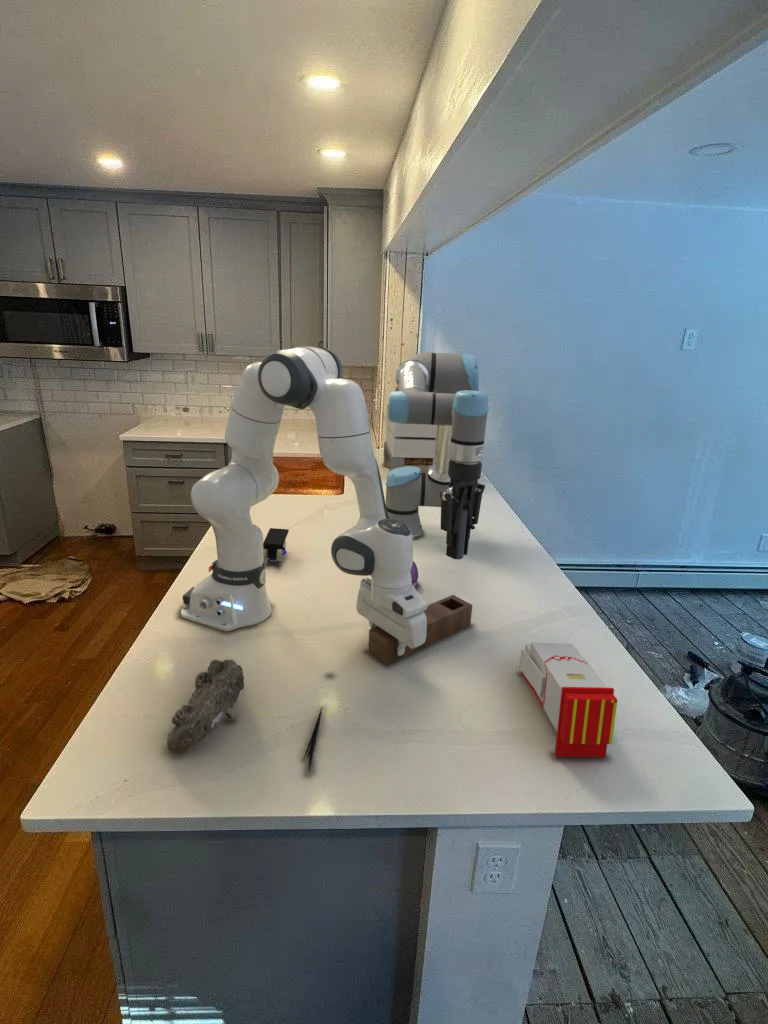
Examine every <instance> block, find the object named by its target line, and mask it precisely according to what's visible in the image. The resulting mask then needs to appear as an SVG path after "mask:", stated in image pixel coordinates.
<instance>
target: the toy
mask: <svg viewBox="0 0 768 1024" xmlns="http://www.w3.org/2000/svg"><path fill="white" fill-rule="evenodd" d="M518 668H519V670H520V671H521V675H522V677H523V678H524V680H525V681H526V683H527V684H528V686H529V687H530V689H531V691H532V692H533V693H534V696H535V697H536V699H537V700H538V702H539V703H540V705H541V706H542V707H543V711H544V712H545V713H546V715H547V717H548V719H549V721H550V722H551V724H552V726H553V727H554V730H555V732H556V739H555V748H554V749H555V750H554V756H555V757H561V758H562V757H563V758H564V757H567V758H568V757H569V758H570V757H571V758H573V757H574V758H576V757H577V758H606V757H607V749H608V745H613V739H614V738H613V737H614V729H615V724H616V723H615V722H616V714H617V707H618V698H617V697H616V696H615V695H614V694H615V688H614V687H607V685H606V684H605V682H604V681H603V680H602V679H601V678H600V677H599V675H598V673H596V672H595V670H594V669H593V668H592V666H590V664H589V663H588V662H587V660H586V659H585V658H584V657H583V655H582V654H581V653H580V652H579V651H578V649H577V648H576V647H575V646H574V645H573V643H572V642H531V643H525V644H524V648H520V655H519V662H518Z"/></svg>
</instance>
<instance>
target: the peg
mask: <svg viewBox="0 0 768 1024" xmlns="http://www.w3.org/2000/svg"><path fill="white" fill-rule="evenodd" d="M467 515H468V510H467V509H464V508H462V507H461V512H460V517H459V522H458V527H457V531H456V532H458V533H459V537H458V548H457V558H456V559H455V560H458V561H459V560H463V559H464V556H465V555H464V545H465V535H466V525H467ZM451 559H453V558H451ZM453 560H454V559H453Z"/></svg>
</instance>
